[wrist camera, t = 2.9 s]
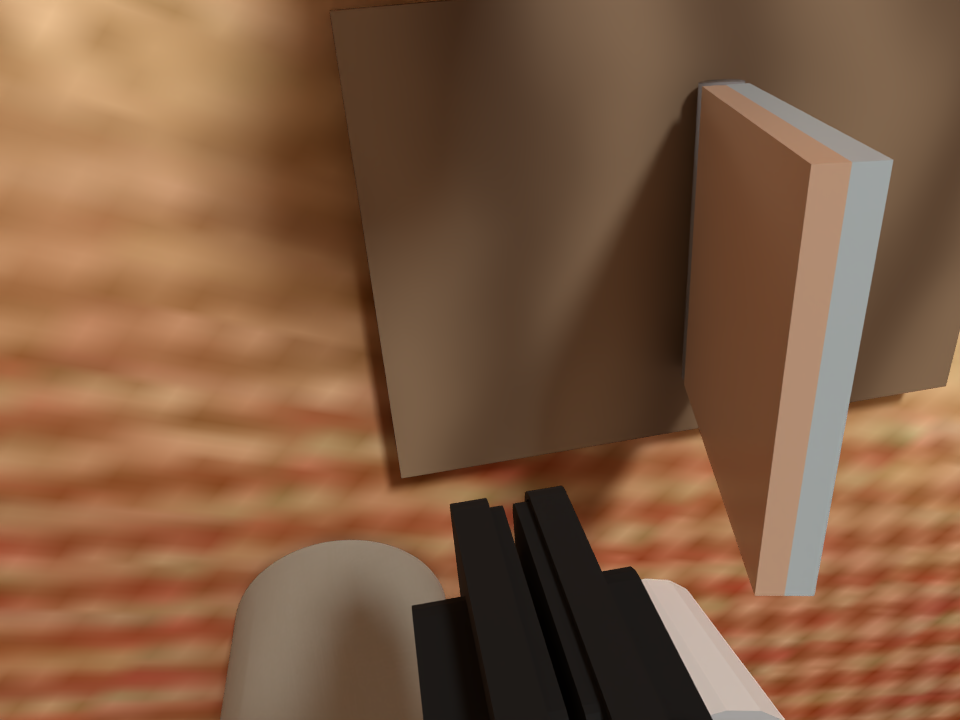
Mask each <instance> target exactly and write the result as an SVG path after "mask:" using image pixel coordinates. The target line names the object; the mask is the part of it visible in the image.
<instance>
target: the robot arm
mask: <svg viewBox="0 0 960 720" xmlns="http://www.w3.org/2000/svg"><path fill="white" fill-rule="evenodd" d="M450 511H451V520H452V528H453V537H454V545H455V553H456V562H457V570H458V578H459V587H460V595H461V597H457V598H451V599H445V600H440V601H434V602H429V603H423V604H417V605H412V617H413V627H414V637H415V646H416V656H417V665H418V675H419V684H420V694H421V703H422V713H423V720H713V719H712V717H711V715H710V713H709V711H708V709H707V707H706V705H705V704H704V702H703V700H702V698H701V696H700V694H699V692H698V690H697V688H696V686H695V684H694V682H693V680H692V678H691V676H690V674H689V672H688V670H687V668H686V666H685V665H684V663H683V661H682V659H681V657H680V655H679V653H678V651H677V649H676V647H675V645H674V643H673V641H672V639H671V637H670V635H669V633H668V631H667V629H666V627H665V626H664V624H663V622H662V620H661V618H660V616H659V614H658V612H657V610H656V608H655V606H654V604H653V602H652V600H651V598H650V596H649V594H648V592H647V590H646V588H645V586H644V585H643V583H642V581H641V579H640V577H639V575H638V574H637V572H636V571H635V570H634V569H633V568H632V567H631V566H630V567H625V568H619V569H614V570H608V571H601V569H600V566H599V564H598V562H597V560H596V557H595V555H594V553H593V551H592V549H591V546H590V544H589V542H588V540H587V537H586V535H585V533H584V531H583V529H582V526H581V524H580V522H579V520H578V517H577V515H576V513H575V511H574V509H573V506H572V504H571V502H570V500H569V497H568V495H567V493H566V491H565V489H564V487H562V486H557V487H551V488H545V489H538V490H532V491H526V492H525V502H521V503H515V504H513V520H514V533H515V543H514V540H513V537H512V534H511V530H510V527H509V524H508V521H507V517H506V514H505V511H504V508H503V506H497V507H491V508H490V507H489V503H488V500H487V499H486V498H484V499H478V500H471V501H465V502H459V503H453V504H450Z"/></svg>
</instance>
